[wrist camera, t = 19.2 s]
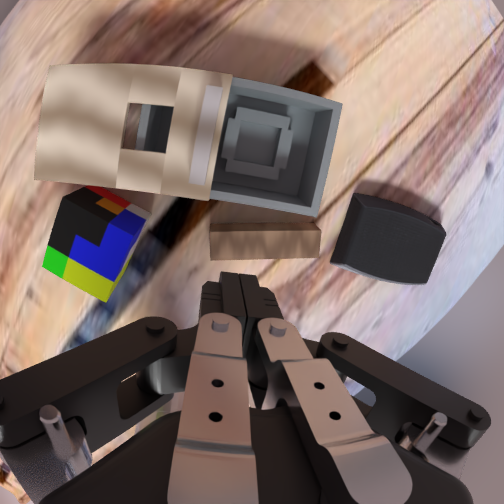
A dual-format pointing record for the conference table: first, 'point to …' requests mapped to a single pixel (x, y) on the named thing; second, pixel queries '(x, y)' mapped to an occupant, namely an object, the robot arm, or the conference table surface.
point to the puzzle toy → (94, 239)
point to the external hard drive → (388, 241)
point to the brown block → (264, 241)
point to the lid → (114, 125)
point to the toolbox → (263, 145)
